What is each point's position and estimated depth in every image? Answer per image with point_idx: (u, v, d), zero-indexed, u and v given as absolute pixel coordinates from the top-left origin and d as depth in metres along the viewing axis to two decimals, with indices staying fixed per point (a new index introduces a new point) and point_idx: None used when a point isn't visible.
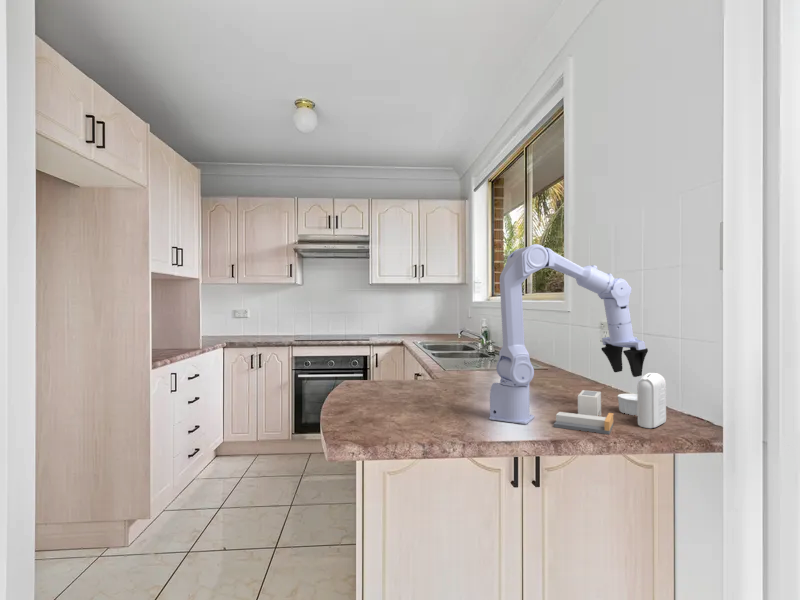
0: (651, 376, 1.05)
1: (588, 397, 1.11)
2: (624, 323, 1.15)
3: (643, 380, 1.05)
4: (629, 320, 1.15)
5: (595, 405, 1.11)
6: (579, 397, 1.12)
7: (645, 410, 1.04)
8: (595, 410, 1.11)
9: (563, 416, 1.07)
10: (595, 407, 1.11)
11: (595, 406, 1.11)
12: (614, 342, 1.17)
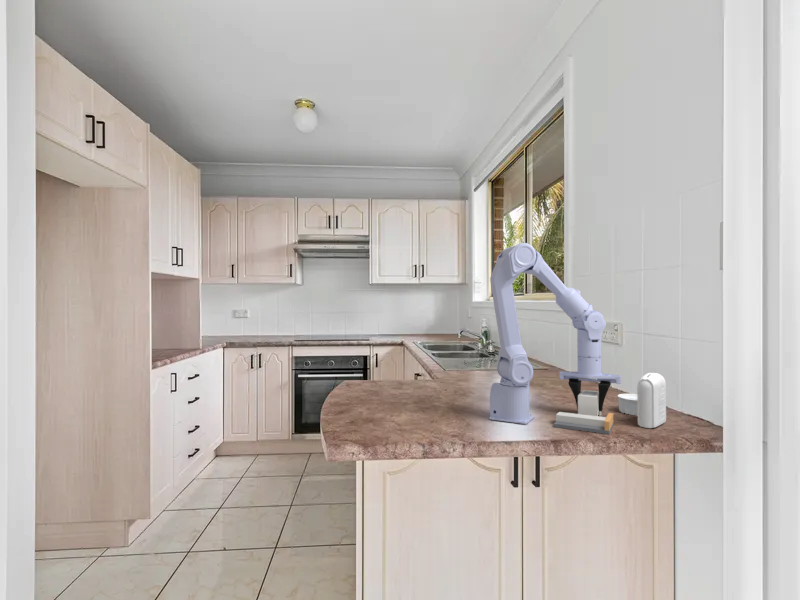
0: (651, 376, 1.05)
1: (588, 397, 1.11)
2: (601, 356, 1.13)
3: (643, 380, 1.05)
4: (599, 355, 1.13)
5: (595, 405, 1.11)
6: (579, 397, 1.12)
7: (645, 410, 1.04)
8: (595, 410, 1.11)
9: (563, 416, 1.07)
10: (595, 407, 1.11)
11: (595, 406, 1.11)
12: (591, 376, 1.12)
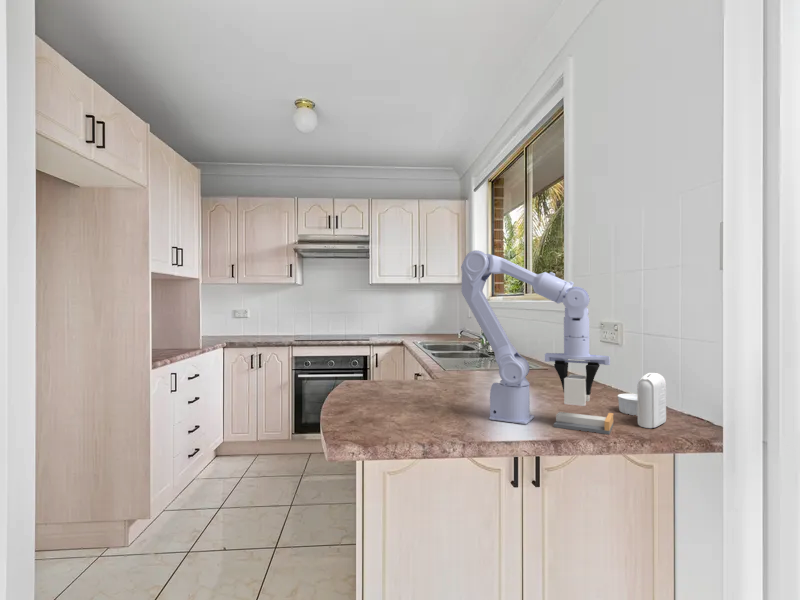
0: (651, 376, 1.05)
1: (575, 380, 1.04)
2: (588, 336, 1.05)
3: (643, 380, 1.05)
4: (581, 334, 1.04)
5: (582, 388, 1.03)
6: (565, 380, 1.05)
7: (645, 410, 1.04)
8: (582, 394, 1.03)
9: (563, 416, 1.07)
10: (582, 390, 1.03)
11: (582, 389, 1.03)
12: (578, 356, 1.04)
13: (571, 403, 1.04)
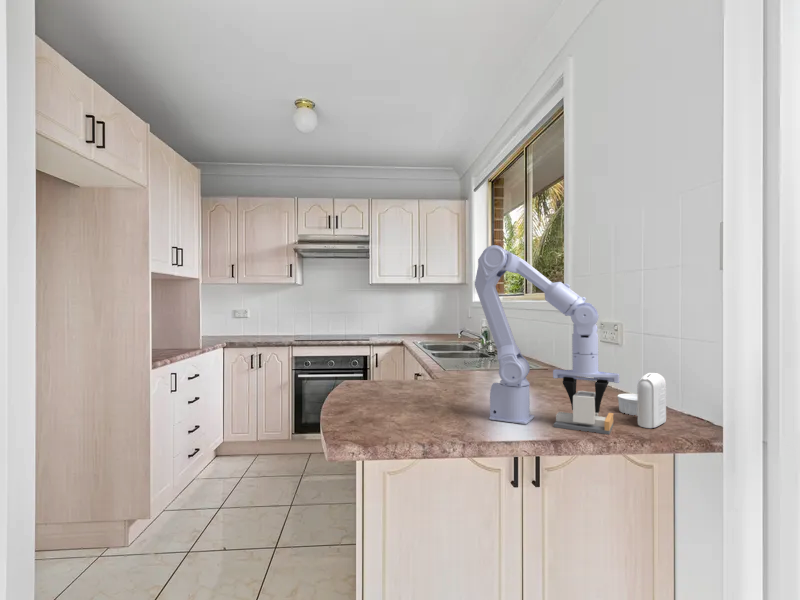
0: (651, 376, 1.05)
1: (584, 398, 1.03)
2: (597, 353, 1.04)
3: (643, 380, 1.05)
4: (590, 352, 1.03)
5: (591, 406, 1.02)
6: (574, 398, 1.04)
7: (645, 410, 1.04)
8: (591, 412, 1.02)
9: (563, 416, 1.07)
10: (591, 409, 1.02)
11: (591, 407, 1.02)
12: (587, 374, 1.03)
13: (580, 421, 1.03)
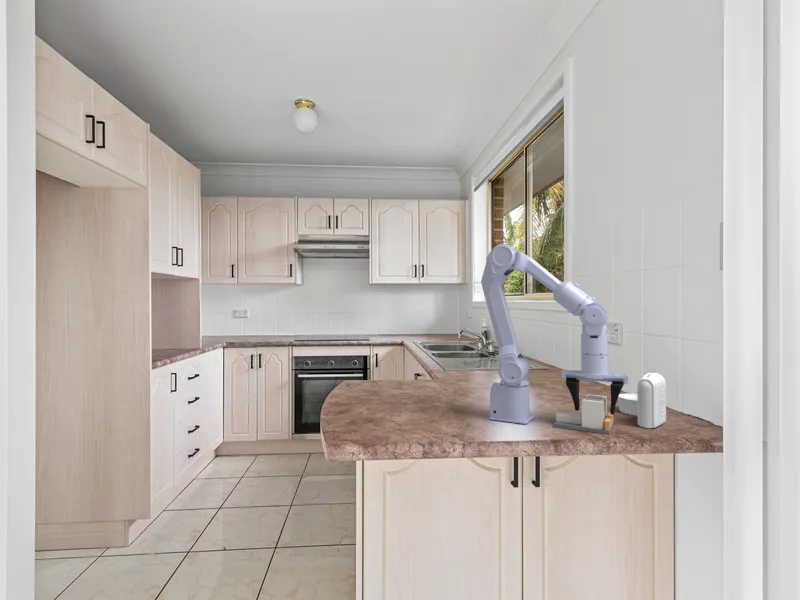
0: (651, 376, 1.05)
1: (593, 402, 1.02)
2: (606, 354, 1.03)
3: (643, 380, 1.05)
4: (599, 352, 1.02)
5: (601, 411, 1.01)
6: (583, 402, 1.03)
7: (645, 410, 1.04)
8: (601, 417, 1.01)
9: (563, 416, 1.07)
10: (601, 413, 1.01)
11: (601, 412, 1.01)
12: (596, 375, 1.02)
13: (589, 426, 1.02)
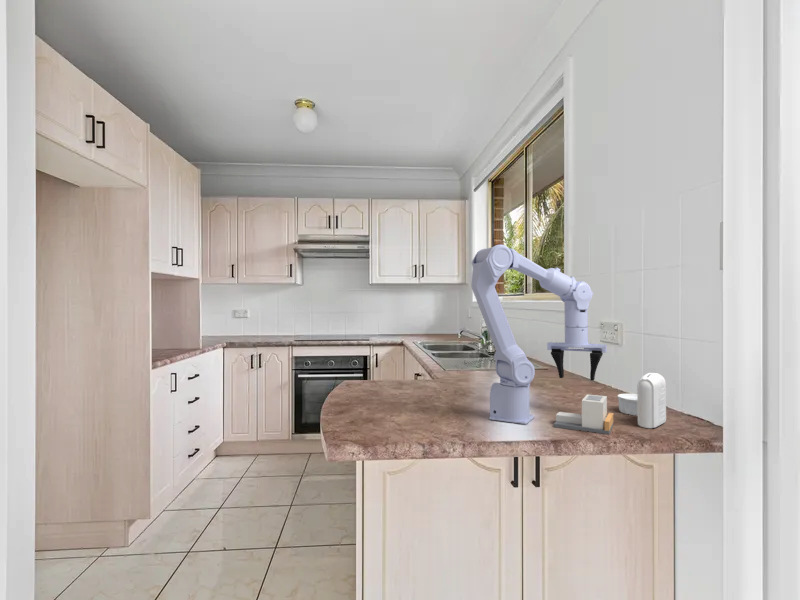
0: (651, 376, 1.05)
1: (593, 402, 1.02)
2: (587, 326, 1.15)
3: (643, 380, 1.05)
4: (586, 324, 1.15)
5: (601, 411, 1.01)
6: (583, 402, 1.03)
7: (645, 410, 1.04)
8: (601, 417, 1.01)
9: (563, 416, 1.07)
10: (601, 413, 1.01)
11: (601, 412, 1.01)
12: (577, 345, 1.14)
13: (589, 426, 1.02)
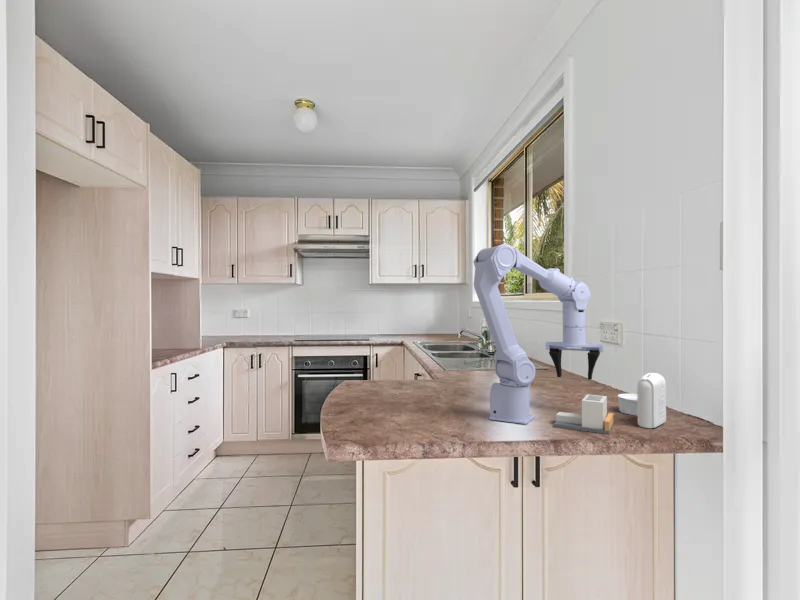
0: (651, 376, 1.05)
1: (593, 402, 1.02)
2: (585, 326, 1.17)
3: (643, 380, 1.05)
4: (584, 324, 1.17)
5: (601, 411, 1.01)
6: (583, 402, 1.03)
7: (645, 410, 1.04)
8: (601, 417, 1.01)
9: (563, 416, 1.07)
10: (601, 413, 1.01)
11: (601, 412, 1.01)
12: (575, 344, 1.16)
13: (589, 426, 1.02)
